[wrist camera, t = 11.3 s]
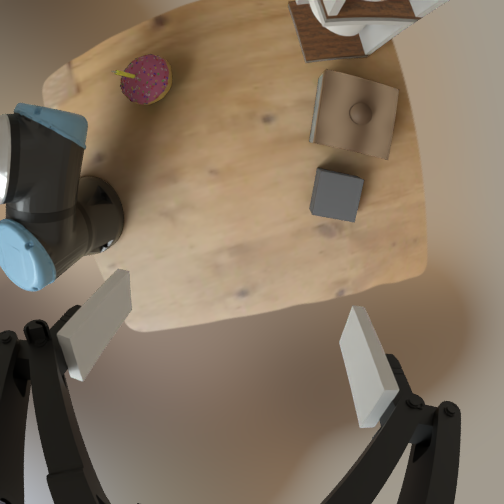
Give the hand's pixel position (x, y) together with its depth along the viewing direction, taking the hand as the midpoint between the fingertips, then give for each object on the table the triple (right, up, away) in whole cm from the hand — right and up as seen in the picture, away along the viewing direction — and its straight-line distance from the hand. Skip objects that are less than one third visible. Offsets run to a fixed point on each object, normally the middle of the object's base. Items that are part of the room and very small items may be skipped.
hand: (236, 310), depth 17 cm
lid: (+16, +23, +22) cm, 35 cm away
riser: (+14, +13, +31) cm, 37 cm away
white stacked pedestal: (+13, +40, +21) cm, 47 cm away
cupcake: (-15, +32, +26) cm, 44 cm away
